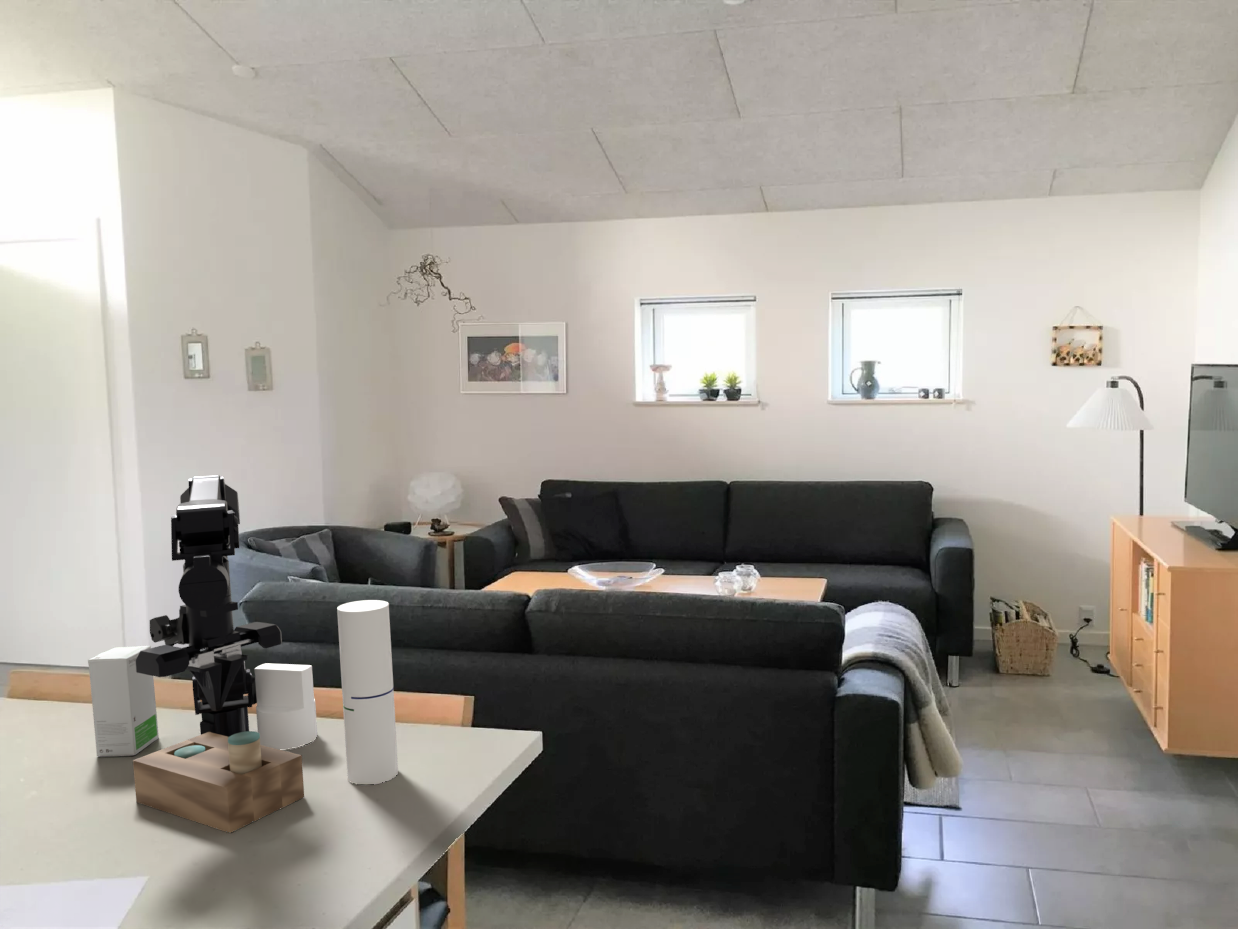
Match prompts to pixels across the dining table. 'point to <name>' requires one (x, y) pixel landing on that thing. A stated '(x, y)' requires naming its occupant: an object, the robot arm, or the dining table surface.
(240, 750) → the peg
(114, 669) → the skincare box
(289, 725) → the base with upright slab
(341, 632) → the cylindrical container
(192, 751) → the peg
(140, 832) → the dining table surface
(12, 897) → the dining table surface
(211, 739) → the socket block
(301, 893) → the dining table surface
